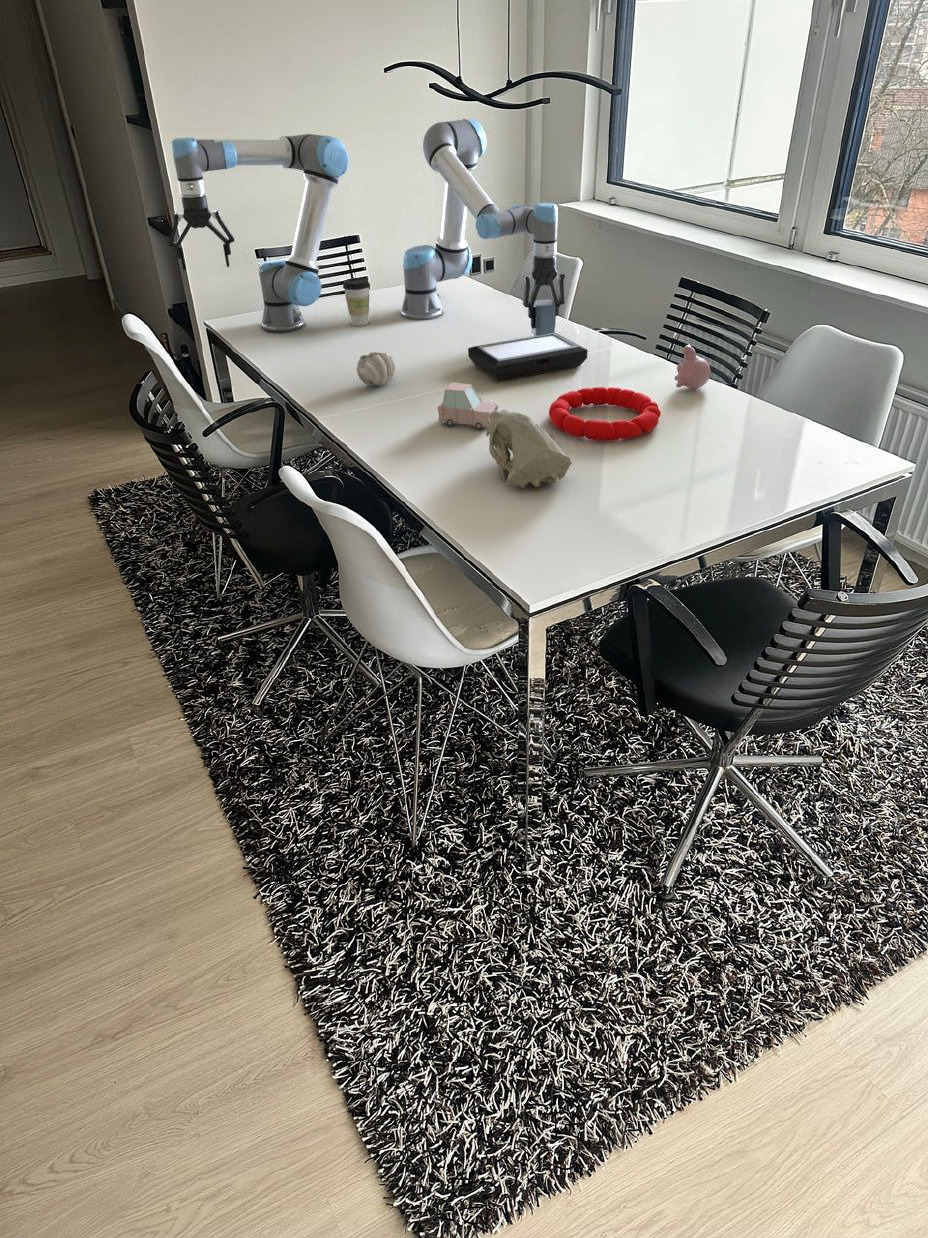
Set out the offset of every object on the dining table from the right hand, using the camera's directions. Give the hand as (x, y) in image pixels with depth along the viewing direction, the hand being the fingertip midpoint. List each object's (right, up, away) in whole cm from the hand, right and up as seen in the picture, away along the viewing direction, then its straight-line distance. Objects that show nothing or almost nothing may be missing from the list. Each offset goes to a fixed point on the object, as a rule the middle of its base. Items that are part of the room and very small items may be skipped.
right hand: (543, 326), depth 304 cm
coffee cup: (-65, +9, +23) cm, 70 cm away
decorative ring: (+11, -46, -60) cm, 77 cm away
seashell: (-53, -28, -31) cm, 68 cm away
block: (0, -2, +2) cm, 3 cm away
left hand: (-110, +13, -18) cm, 112 cm away
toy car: (-26, -46, -58) cm, 79 cm away
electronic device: (-7, -20, -21) cm, 30 cm away
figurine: (+40, -32, -41) cm, 66 cm away
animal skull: (-13, -63, -84) cm, 106 cm away
